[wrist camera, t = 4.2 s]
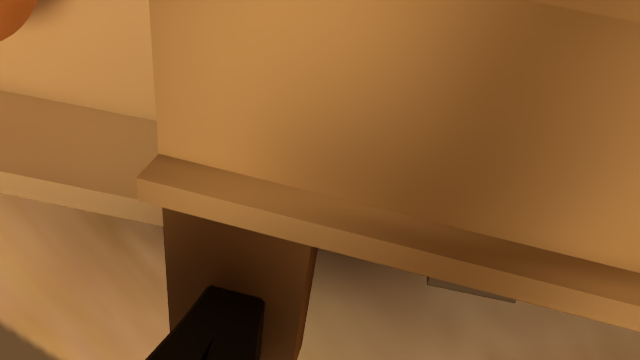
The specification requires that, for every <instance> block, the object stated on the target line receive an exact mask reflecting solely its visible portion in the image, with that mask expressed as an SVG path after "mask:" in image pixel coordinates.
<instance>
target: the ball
mask: <svg viewBox="0 0 640 360" xmlns="http://www.w3.org/2000/svg"><path fill="white" fill-rule="evenodd" d="M36 2H37V0H0V41H2V40H4V39H6V38H8V37H9V36H11V35H13V34H14V33H15V32H16V31H18V30H19V29H20V28H21V27H22V26H23V25H24V24H25V22H26V21H27V20H28V18H29V17H30V15H31V14H32V12H33V10H34V7H35V5H36Z"/></svg>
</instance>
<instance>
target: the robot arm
mask: <svg viewBox="0 0 640 360" xmlns="http://www.w3.org/2000/svg"><path fill="white" fill-rule="evenodd" d="M264 311H265V302H264V301H263V300H262V299H261V298H259V297H255V296H251V295H247V294H243V293H239V292H235V291H231V290H227V289H224V288H220V287H216V286H212V285H211V286H209V287H207V288H205V290H204V291H203V293H202V294H201V295H200V297H199V298H198V299H197V301H196V302H195V303H194V304H193V306H192V307H191V308H190V309H189V311H188V312H187V313H186V314H185V316H184V317H183V318H182V319H181V320H180V322H179V323H178V324H177V325H176V326H175V327H174V329H173V330H172V331H171V332H170V333H169V334H168V336H167V337H166V338H165V339H164V340H163V341H162V342H161V343H160V344H159V345H158V346H157V348H156V349H155V350H154V351H153V352H152V353H151V354H150V355H149V356H148V357H147V358H146V359H145V360H260V354H261V343H262V332H263V321H264Z"/></svg>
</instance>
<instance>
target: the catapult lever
mask: <svg viewBox="0 0 640 360" xmlns="http://www.w3.org/2000/svg"><path fill="white" fill-rule="evenodd" d="M149 11H150V27H151V43H152V58H153V74H154V89H155V105H156V121H157V136H158V152H159V154H158V155H157V156H156V157H155V158H154V159H153V160H152V161H151V162H150V163H149V165H148V166H147V167H146V168H145V169H144V170H143V171H142V172H141V173H140V174H139V175H138V176H137V177H136V183H137V194H138V201H140V202H144V203H148V204H151V205H155V206H159V207H162V214H163V230H164V245H165V261H166V277H167V292H168V308H169V323H170V332H171V331H172V330H173V329H174V327H175V326H176V325H177V324H178V323H179V322H180V320H181V319H182V318H183V317H184V316H185V314H186V313H187V312H188V311H189V309H190V308H191V307H192V306H193V304H194V303H195V302H196V301H197V299H198V298H199V297H200V295H201V294H202V293H203V291H204V290H205V288H207V287H209V286H211V285H212V286H216V287H220V288H224V289H227V290H231V291H235V292H239V293H243V294H247V295H251V296H255V297H259V298H261V299H262V300H263V301H264V302H265V311H264V321H263V332H262V343H261V354H260V360H297V358H298V355H299V352H300V349H301V346H302V340H303V334H304V328H305V322H306V316H307V310H308V304H309V298H310V292H311V286H312V280H313V273H314V267H315V261H316V255H317V249H318V248H320V249H324V250H328V251H332V252H335V253H339V254H343V255H347V256H351V257H355V258H358V259H362V260H366V261H370V262H374V263H378V264H381V265H385V266H389V267H393V268H397V269H401V270H404V271H408V272H412V273H416V274H420V275H424V276H427V277H431V278H435V279H439V280H443V281H447V282H450V283H454V284H458V285H462V286H466V287H470V288H473V289H477V290H481V291H485V292H489V293H493V294H496V295H500V296H504V297H508V298H512V299H516V300H519V301H523V302H527V303H531V304H535V305H539V306H542V307H546V308H550V309H554V310H558V311H562V312H565V313H569V314H573V315H577V316H581V317H585V318H588V319H592V320H596V321H600V322H604V323H608V324H611V325H615V326H619V327H623V328H627V329H631V330H634V331H638V332H640V0H149Z"/></svg>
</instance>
